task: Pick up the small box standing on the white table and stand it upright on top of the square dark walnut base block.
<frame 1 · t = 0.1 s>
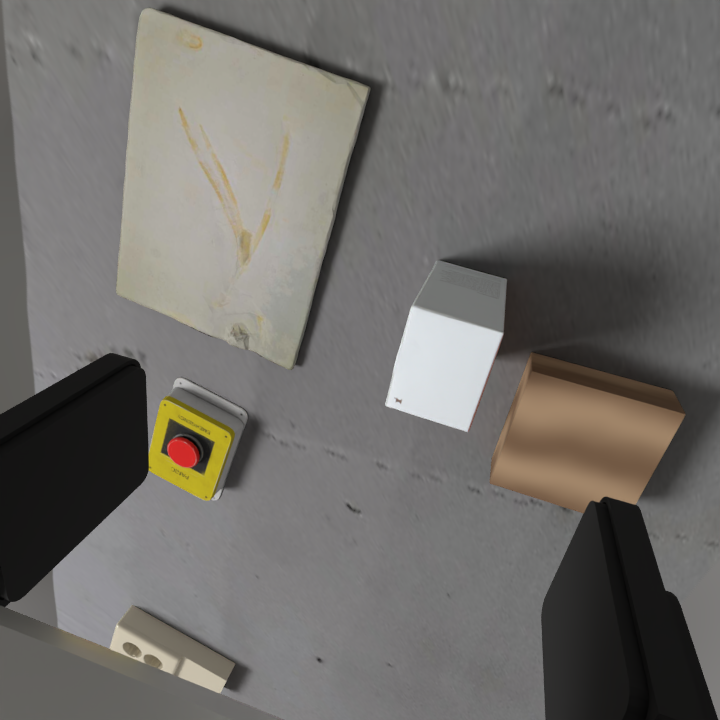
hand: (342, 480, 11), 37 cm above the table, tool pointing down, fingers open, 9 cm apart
emergency button: (201, 438, 62), on the table
electrical outlet: (180, 643, 81), on the table
decorative slab: (232, 204, 49), on the table
walnut base: (575, 427, 48), on the table
small box: (460, 309, 47), on the table
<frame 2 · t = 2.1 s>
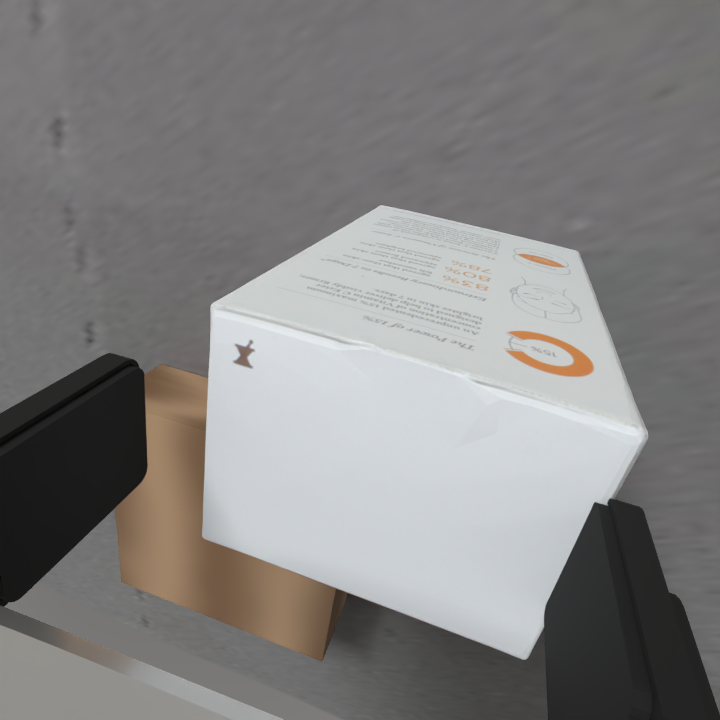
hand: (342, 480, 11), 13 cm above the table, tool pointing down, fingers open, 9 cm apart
walnut base: (258, 488, 29), on the table
small box: (457, 299, 22), on the table, touching gripper
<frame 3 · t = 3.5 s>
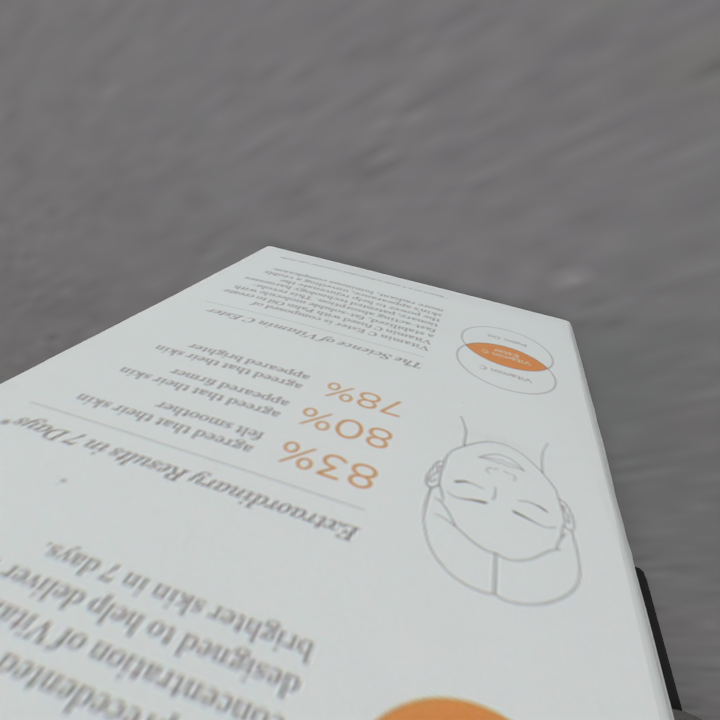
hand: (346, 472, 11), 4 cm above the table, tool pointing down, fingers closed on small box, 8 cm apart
small box: (391, 382, 15), on the table, touching gripper
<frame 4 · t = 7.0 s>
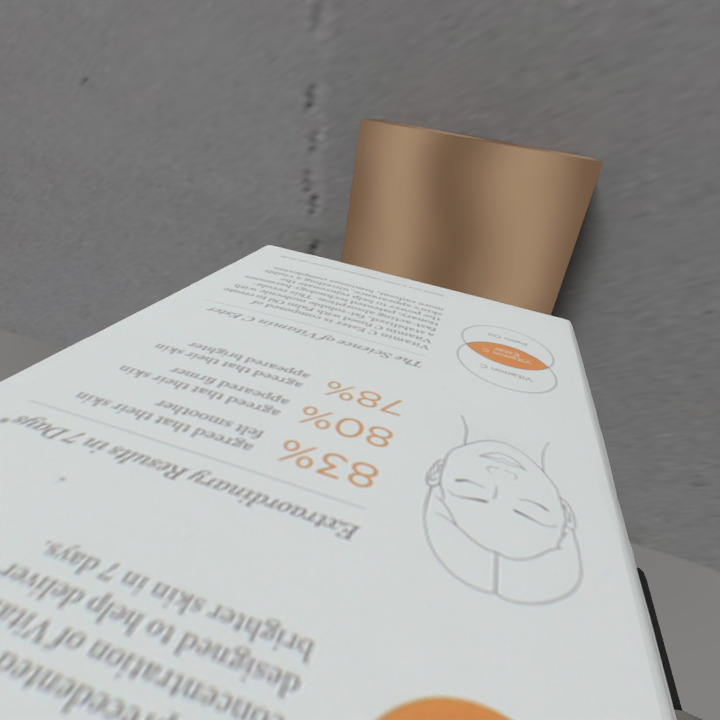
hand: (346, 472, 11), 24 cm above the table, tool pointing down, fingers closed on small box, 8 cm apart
walnut base: (457, 243, 32), on the table
small box: (391, 382, 15), point 20 cm above the table, touching gripper
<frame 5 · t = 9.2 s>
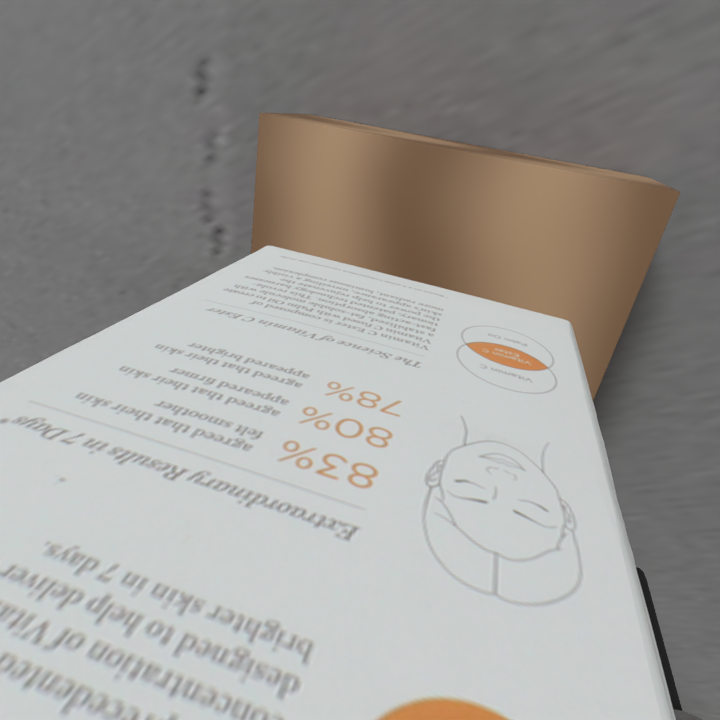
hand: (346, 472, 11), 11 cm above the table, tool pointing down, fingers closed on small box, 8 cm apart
walnut base: (430, 303, 21), on the table
small box: (391, 382, 15), point 7 cm above the table, touching gripper
when the fingers open (9 cm above the table, at t = 10.8 s): small box drops 1 cm, resting on walnut base.
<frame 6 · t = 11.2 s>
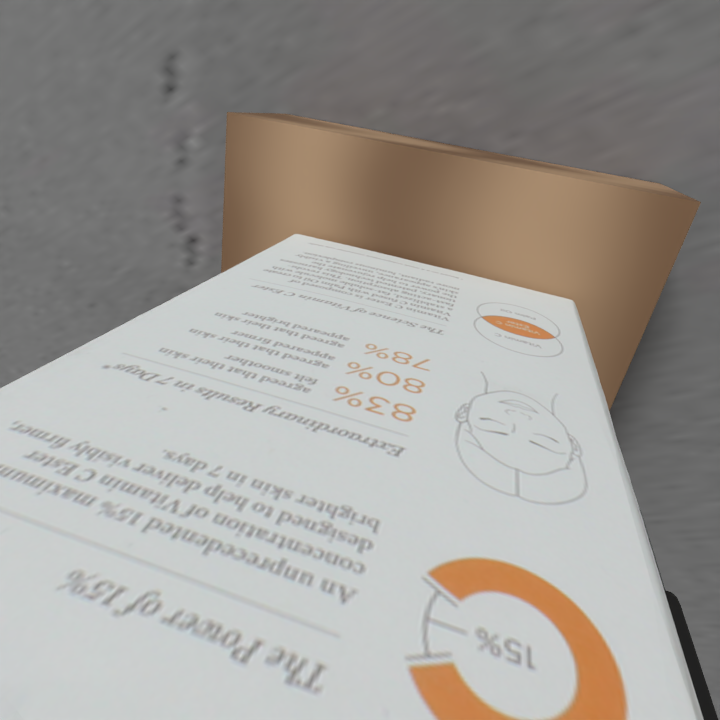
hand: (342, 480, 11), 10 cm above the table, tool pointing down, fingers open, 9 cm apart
walnut base: (421, 319, 19), on the table
small box: (407, 360, 16), point 4 cm above the table, touching walnut base
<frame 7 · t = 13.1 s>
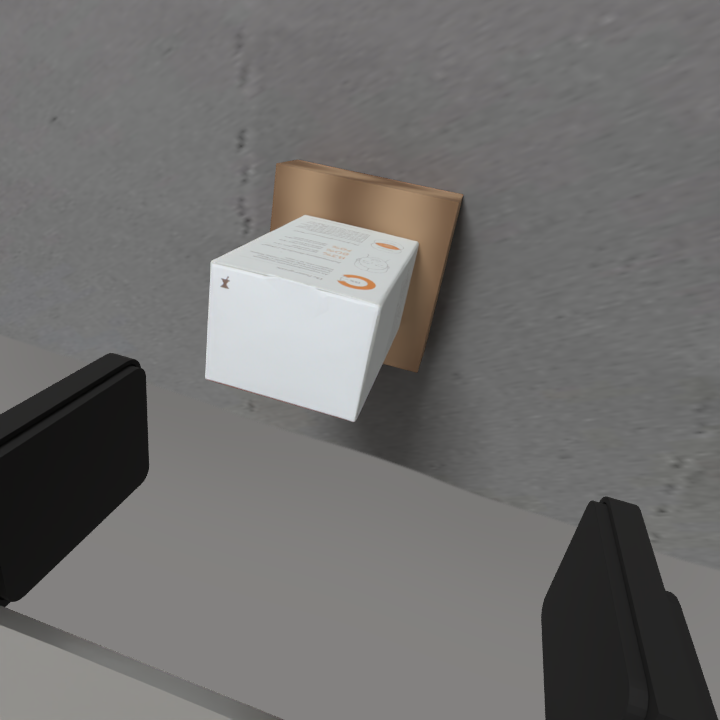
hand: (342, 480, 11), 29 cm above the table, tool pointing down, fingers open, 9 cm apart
walnut base: (363, 259, 39), on the table
small box: (354, 272, 36), point 4 cm above the table, touching walnut base
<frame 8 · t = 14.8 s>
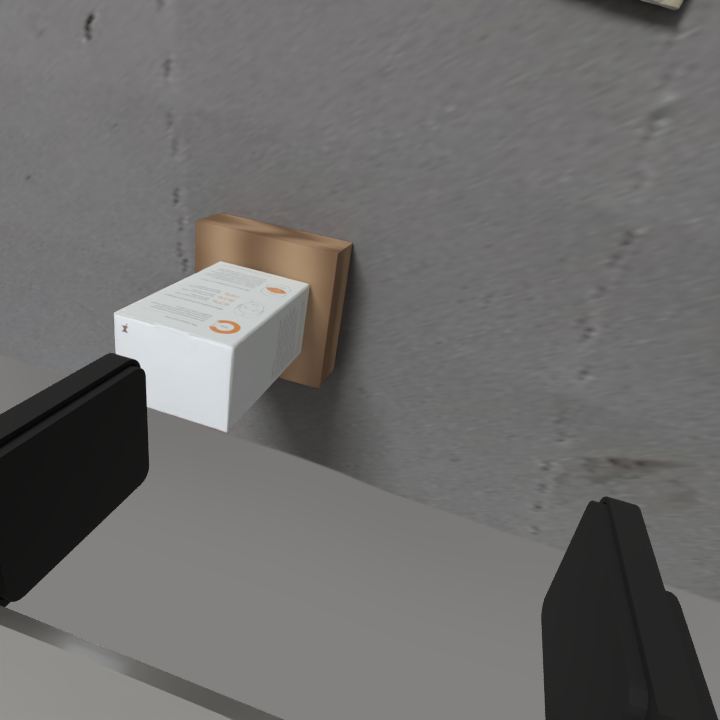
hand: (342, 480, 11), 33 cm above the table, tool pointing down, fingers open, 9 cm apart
walnut base: (279, 294, 47), on the table
small box: (263, 306, 44), point 4 cm above the table, touching walnut base
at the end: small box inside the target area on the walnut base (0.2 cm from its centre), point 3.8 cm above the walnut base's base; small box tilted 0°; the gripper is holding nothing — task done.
